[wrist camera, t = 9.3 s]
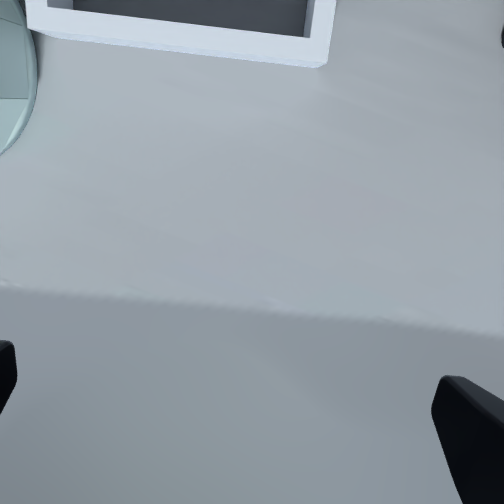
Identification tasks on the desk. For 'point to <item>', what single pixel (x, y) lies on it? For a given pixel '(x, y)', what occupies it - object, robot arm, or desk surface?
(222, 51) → the tray
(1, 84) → the bowl
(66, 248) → the desk surface
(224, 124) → the desk surface
